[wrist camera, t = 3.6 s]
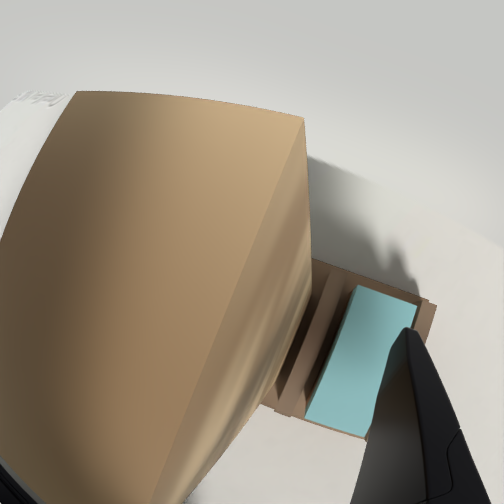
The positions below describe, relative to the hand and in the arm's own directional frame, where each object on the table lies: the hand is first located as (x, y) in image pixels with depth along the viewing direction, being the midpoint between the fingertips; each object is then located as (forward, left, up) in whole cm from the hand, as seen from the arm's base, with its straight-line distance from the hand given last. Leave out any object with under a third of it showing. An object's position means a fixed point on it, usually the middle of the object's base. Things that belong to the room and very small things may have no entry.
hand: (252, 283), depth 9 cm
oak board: (-1, -1, -7) cm, 7 cm away
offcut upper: (+3, -4, -6) cm, 7 cm away
